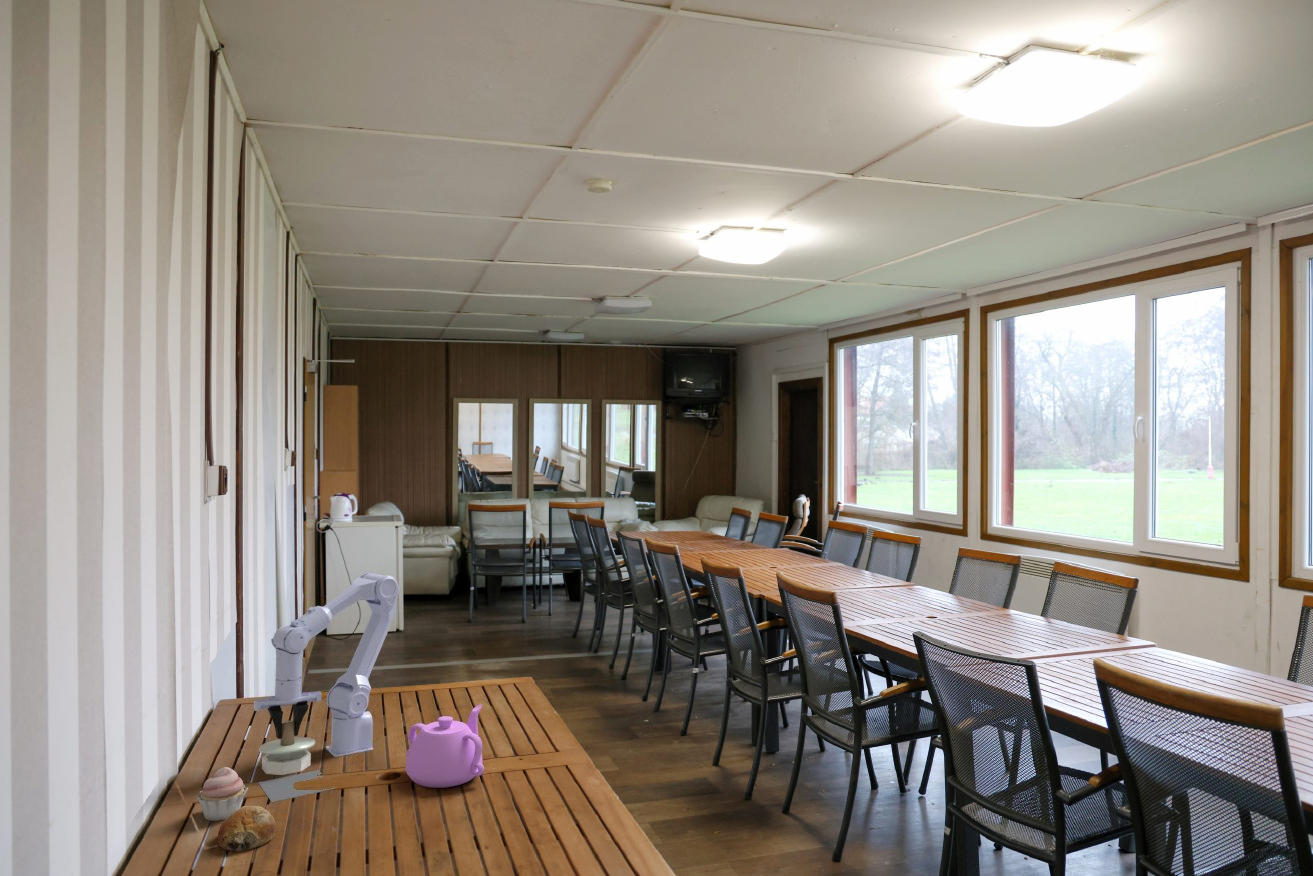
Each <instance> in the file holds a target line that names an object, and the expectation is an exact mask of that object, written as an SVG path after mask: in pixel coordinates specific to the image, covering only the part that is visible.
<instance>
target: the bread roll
mask: <svg viewBox="0 0 1313 876" xmlns="http://www.w3.org/2000/svg"><path fill="white" fill-rule="evenodd" d="M276 827H277V823H276V820H275V818H274V816H273V815H272V814H271V812H270V811H269V810H267V809H266V808H264V807H262V806H259V805H244V806H241V808H240V809H238V810H236V811H235V812H233V813H232V814H231V815H230V816H229V817H228V818H226V819H225V820H223V822H222V824H221V825H220V827H219V830H218V833H217V843H218V846H219V847H220V848H221V849H222V850H225V851H229V852H230V851H231V852H242V851H248V850H251V849H256V848H257V847H261V846H264V845H266V844H267V843H268V842H270V841H271V840H272V839H273V837H275V835H276V834H275V833H276V830H277V829H276Z"/></svg>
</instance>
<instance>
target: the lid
mask: <svg viewBox="0 0 1313 876" xmlns="http://www.w3.org/2000/svg"><path fill="white" fill-rule="evenodd" d="M294 730H295V721H293V720H285V721H282V738H281V739H275V740H271V741H267V742H265V743H263V744H261V745H260V746H259V747H258V748H259V749H258V751H259V753H261V754H264V755H266V754H287V753H294V752H298V751H302V750H306V749H307V750H308V749H310V748H312V747H314V746H315V745H316V740H315V739H314V738H311V737H305V736H304V737H301V736H299V737H297V736H294Z"/></svg>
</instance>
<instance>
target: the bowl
mask: <svg viewBox="0 0 1313 876" xmlns="http://www.w3.org/2000/svg"><path fill="white" fill-rule="evenodd" d="M311 755H312V754H311V752H310V751H309V750H308V749H306V750H302V751H298V752H294V753H287V754H264V755H263V756H261V769H262V771H263V772H264V773H265V774H266V775H277V776H286V775H289V774H290V775H291V774H294V773H299V772H300V773H301V772H302V771H304V770H305V769H307V768H309V767H310V766H311V759H312V756H311Z"/></svg>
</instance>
